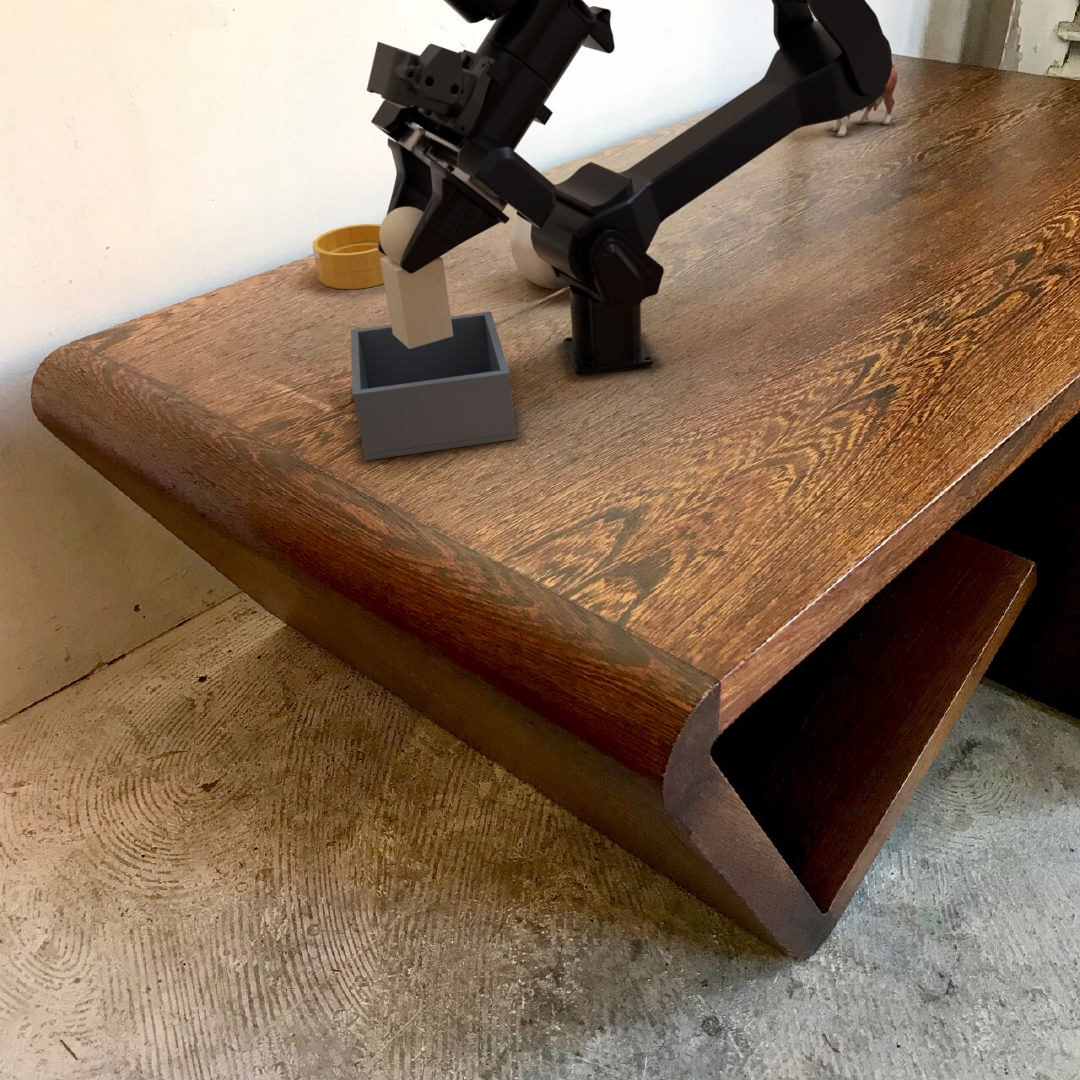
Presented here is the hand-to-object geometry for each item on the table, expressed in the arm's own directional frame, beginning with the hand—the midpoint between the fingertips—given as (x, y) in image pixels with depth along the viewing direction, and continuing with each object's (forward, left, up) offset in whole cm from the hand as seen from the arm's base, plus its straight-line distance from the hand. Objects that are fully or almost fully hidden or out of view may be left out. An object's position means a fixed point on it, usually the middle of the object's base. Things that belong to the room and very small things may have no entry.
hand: (393, 261), depth 75 cm
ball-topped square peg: (0, -1, -6) cm, 6 cm away
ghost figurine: (+22, -15, -13) cm, 30 cm away
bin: (0, -1, -13) cm, 13 cm away
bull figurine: (+61, -60, -13) cm, 87 cm away
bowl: (+31, +4, -13) cm, 34 cm away
